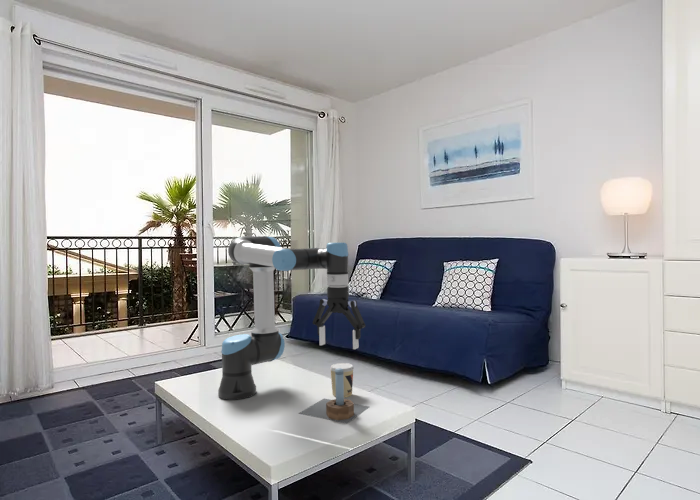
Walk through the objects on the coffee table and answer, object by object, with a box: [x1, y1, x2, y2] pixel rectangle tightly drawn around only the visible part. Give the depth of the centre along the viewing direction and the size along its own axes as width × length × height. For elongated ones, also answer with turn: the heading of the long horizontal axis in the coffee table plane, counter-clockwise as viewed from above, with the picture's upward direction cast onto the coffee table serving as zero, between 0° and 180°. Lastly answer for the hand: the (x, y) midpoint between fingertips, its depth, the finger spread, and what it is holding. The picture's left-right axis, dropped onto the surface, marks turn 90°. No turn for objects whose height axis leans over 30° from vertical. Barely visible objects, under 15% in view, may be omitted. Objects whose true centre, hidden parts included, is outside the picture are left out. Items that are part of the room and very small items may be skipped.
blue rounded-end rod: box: [335, 368, 345, 406], centre depth 154 cm, size 3×3×16 cm
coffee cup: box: [329, 362, 354, 398], centre depth 176 cm, size 9×9×12 cm
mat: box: [298, 398, 370, 424], centre depth 159 cm, size 20×17×1 cm
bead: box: [326, 398, 355, 420], centre depth 154 cm, size 9×9×4 cm
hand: (338, 346), depth 154 cm, fingers open, 13 cm apart
